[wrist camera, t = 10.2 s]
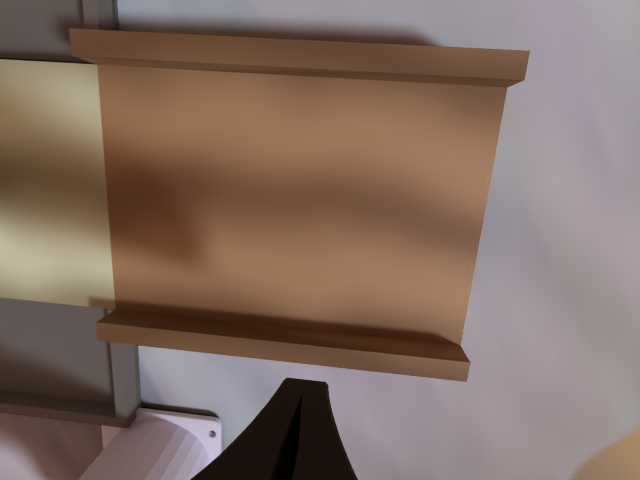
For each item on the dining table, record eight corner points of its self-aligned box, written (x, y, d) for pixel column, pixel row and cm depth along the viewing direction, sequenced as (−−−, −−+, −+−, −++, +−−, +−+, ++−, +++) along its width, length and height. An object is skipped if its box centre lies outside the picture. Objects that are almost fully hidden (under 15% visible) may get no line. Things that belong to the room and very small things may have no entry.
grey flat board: (141, 411, 23) (127, 428, 22) (-27, 390, 24) (-52, 405, 23) (109, -122, 16) (86, -149, 15) (-126, -126, 17) (-170, -152, 16)
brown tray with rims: (441, 354, 20) (466, 407, 16) (-66, 300, 23) (-166, 334, 18) (492, 52, 17) (542, 15, 12) (-123, 21, 19) (-266, -19, 14)
